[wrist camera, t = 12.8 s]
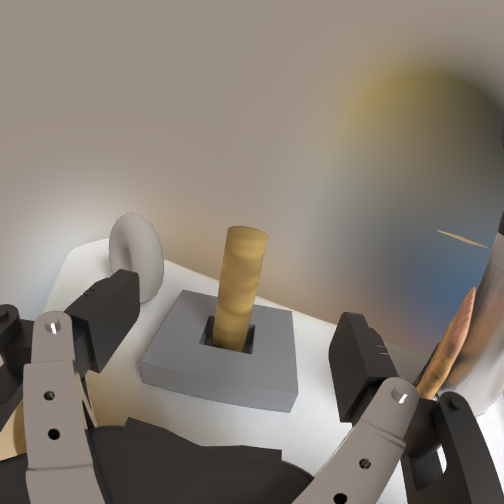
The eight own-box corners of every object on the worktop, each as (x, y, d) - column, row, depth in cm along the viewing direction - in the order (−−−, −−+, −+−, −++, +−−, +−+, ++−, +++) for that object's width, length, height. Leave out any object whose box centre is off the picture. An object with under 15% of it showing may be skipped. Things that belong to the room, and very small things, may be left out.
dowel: (243, 348, 27) (267, 230, 23) (240, 368, 24) (267, 242, 20) (213, 342, 27) (231, 223, 23) (207, 361, 24) (224, 234, 20)
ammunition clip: (417, 377, 25) (467, 280, 21) (430, 385, 24) (482, 288, 20) (378, 436, 18) (456, 316, 14) (395, 446, 17) (479, 328, 12)
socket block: (286, 329, 31) (291, 311, 30) (289, 412, 20) (298, 393, 19) (181, 308, 31) (182, 289, 30) (142, 381, 20) (140, 360, 19)
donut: (168, 314, 30) (174, 226, 26) (141, 323, 27) (142, 230, 24) (128, 276, 36) (130, 202, 32) (105, 281, 33) (105, 204, 30)
